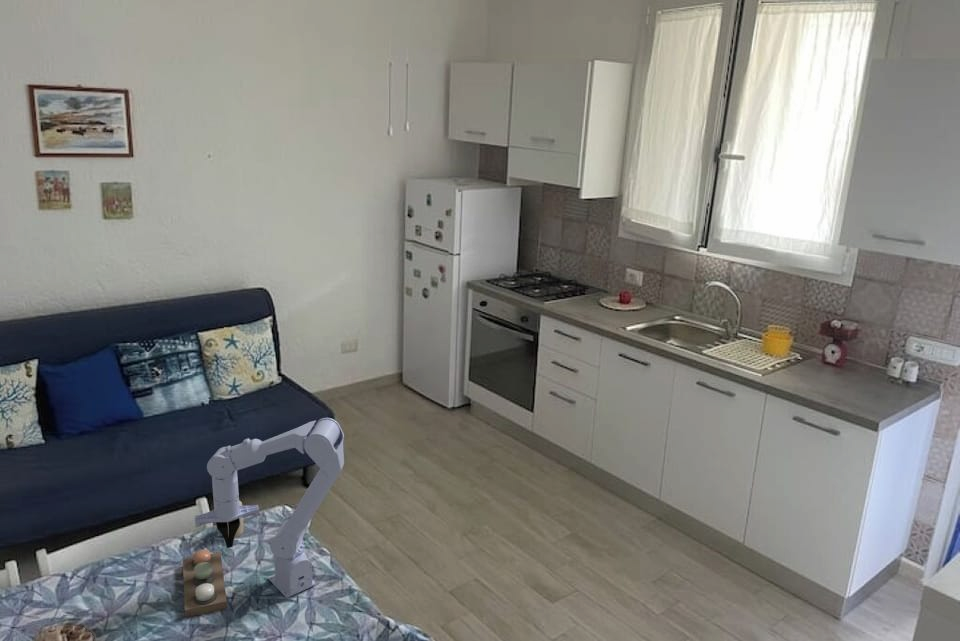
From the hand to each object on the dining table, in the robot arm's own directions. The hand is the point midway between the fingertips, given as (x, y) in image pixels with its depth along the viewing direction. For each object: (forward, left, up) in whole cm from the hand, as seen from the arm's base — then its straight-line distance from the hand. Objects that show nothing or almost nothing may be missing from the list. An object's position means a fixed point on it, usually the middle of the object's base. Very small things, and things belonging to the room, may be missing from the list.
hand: (229, 545), depth 175 cm
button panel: (0, +7, -9) cm, 11 cm away
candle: (+17, -8, -9) cm, 21 cm away
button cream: (-6, +9, -6) cm, 13 cm away
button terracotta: (+7, +4, -6) cm, 10 cm away
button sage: (0, +7, -5) cm, 8 cm away
